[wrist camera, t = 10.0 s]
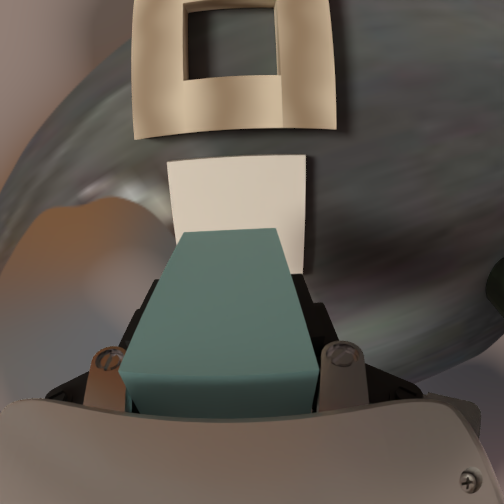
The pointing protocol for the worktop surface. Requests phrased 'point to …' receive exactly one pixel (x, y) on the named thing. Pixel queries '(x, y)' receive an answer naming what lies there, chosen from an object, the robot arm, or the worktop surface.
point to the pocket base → (234, 87)
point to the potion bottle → (496, 287)
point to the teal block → (223, 333)
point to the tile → (242, 197)
